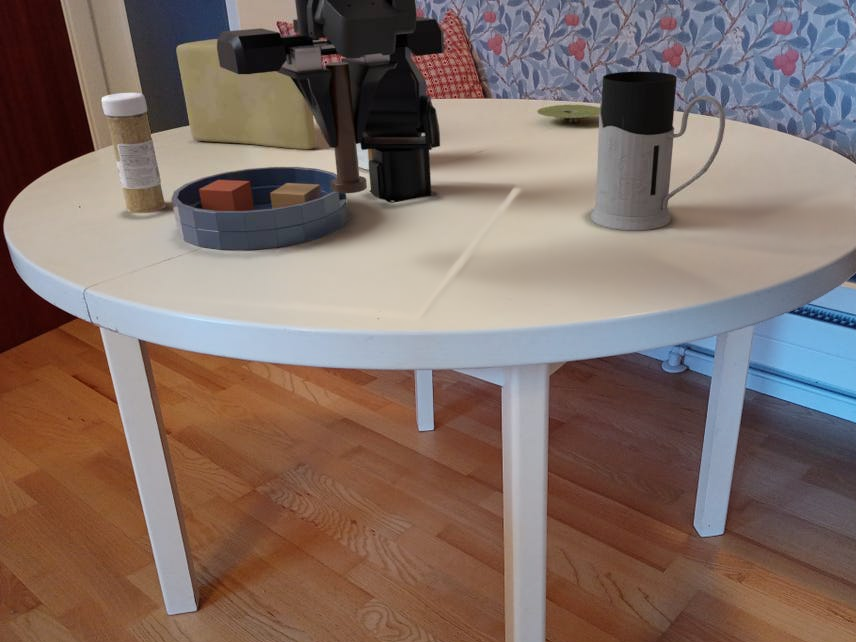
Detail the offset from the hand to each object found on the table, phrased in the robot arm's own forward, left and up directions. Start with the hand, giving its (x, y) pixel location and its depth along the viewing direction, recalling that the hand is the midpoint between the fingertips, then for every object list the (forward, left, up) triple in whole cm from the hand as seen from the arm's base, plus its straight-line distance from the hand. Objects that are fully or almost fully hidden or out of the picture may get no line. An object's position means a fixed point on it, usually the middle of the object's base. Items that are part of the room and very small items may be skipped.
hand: (344, 144), depth 74 cm
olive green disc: (-57, -43, -12) cm, 73 cm away
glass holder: (-32, +6, -12) cm, 35 cm away
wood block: (+1, -14, -11) cm, 18 cm away
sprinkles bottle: (+14, -31, -12) cm, 36 cm away
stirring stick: (0, 0, -4) cm, 4 cm away
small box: (-19, -36, -12) cm, 43 cm away
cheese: (-9, -60, -12) cm, 62 cm away
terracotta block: (+7, -20, -11) cm, 24 cm away
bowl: (+4, -17, -12) cm, 21 cm away
